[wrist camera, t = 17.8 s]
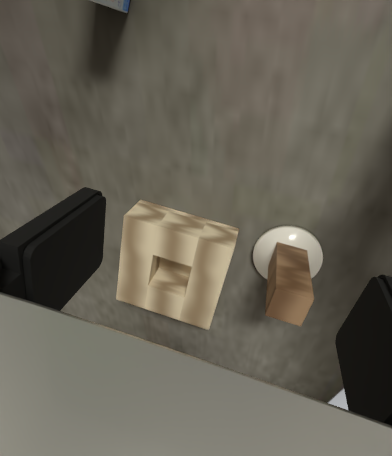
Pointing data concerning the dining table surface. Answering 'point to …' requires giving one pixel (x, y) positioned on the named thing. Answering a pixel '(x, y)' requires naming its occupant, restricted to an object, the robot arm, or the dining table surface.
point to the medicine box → (115, 4)
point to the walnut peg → (289, 284)
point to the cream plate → (289, 237)
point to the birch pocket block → (174, 262)
